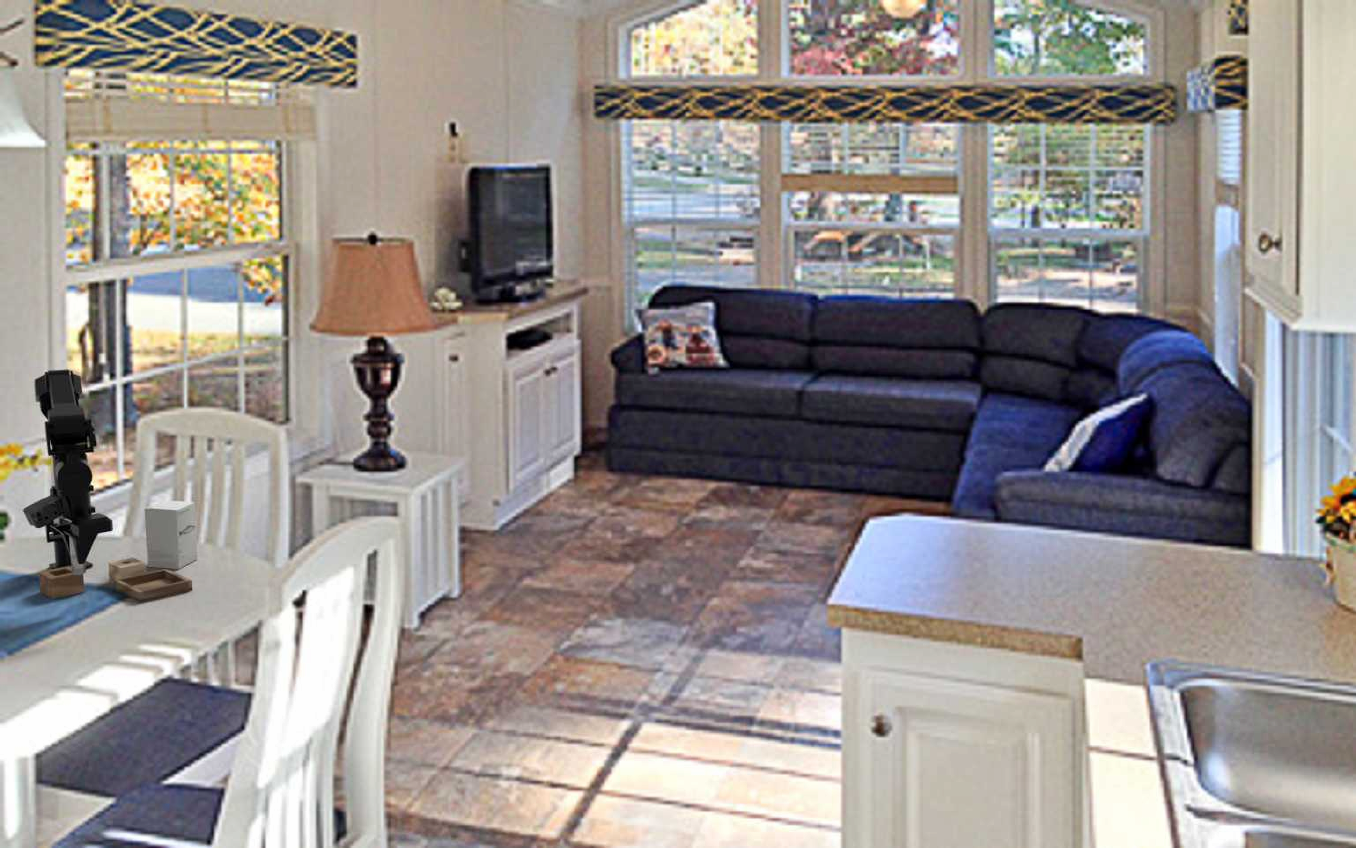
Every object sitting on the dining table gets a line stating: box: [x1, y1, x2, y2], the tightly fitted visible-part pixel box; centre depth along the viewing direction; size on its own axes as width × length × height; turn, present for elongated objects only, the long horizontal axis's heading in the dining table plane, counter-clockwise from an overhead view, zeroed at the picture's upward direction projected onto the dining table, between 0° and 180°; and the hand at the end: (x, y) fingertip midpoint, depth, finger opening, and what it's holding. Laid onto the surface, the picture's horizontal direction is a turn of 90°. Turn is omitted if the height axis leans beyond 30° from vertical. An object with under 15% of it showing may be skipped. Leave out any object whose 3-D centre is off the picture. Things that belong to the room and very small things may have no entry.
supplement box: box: [144, 500, 198, 570], centre depth 278 cm, size 7×7×13 cm
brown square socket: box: [38, 566, 85, 600], centre depth 260 cm, size 6×6×4 cm
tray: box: [113, 568, 193, 603], centre depth 262 cm, size 11×11×2 cm
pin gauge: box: [69, 528, 87, 575], centre depth 250 cm, size 2×2×8 cm
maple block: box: [107, 557, 146, 584], centre depth 267 cm, size 5×5×4 cm
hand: (78, 562), depth 250 cm, fingers closed on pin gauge, 2 cm apart
